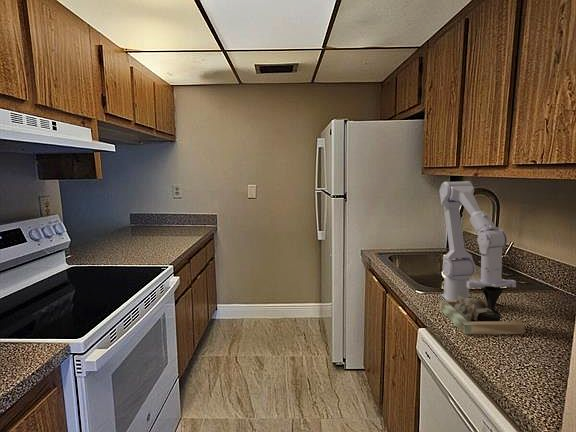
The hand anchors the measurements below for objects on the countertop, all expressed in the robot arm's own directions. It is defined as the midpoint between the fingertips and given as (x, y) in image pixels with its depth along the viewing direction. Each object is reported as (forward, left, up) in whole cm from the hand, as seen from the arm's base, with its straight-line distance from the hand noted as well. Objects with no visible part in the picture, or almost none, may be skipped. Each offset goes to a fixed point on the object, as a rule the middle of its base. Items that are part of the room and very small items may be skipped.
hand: (490, 309), depth 116 cm
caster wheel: (0, -3, -4) cm, 5 cm away
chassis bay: (-1, -4, -4) cm, 5 cm away
